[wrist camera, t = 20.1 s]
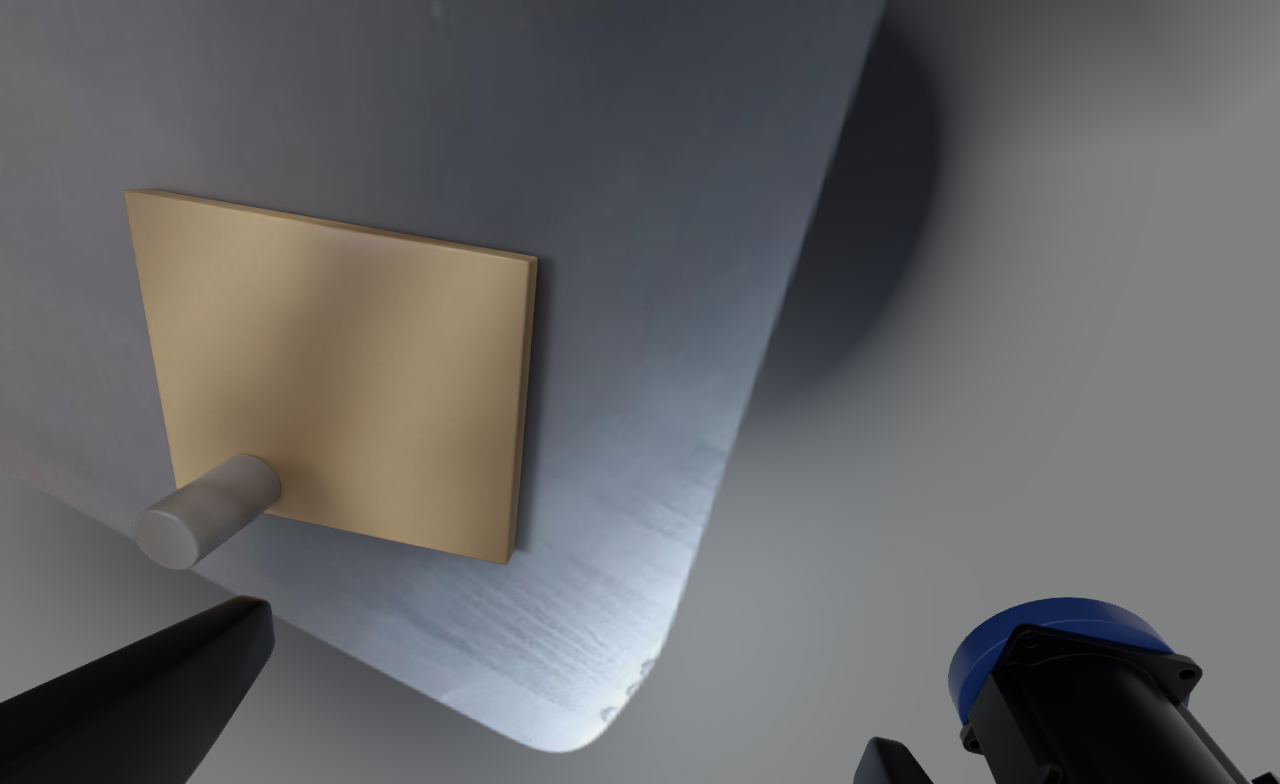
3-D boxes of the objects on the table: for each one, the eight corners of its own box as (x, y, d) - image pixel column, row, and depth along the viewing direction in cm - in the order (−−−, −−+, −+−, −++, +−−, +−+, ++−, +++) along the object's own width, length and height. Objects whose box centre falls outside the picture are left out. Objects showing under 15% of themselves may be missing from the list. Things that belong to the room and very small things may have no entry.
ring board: (538, 256, 20) (481, 287, 15) (515, 550, 24) (465, 643, 20) (148, 187, 21) (-19, 197, 16) (196, 482, 25) (78, 556, 21)
